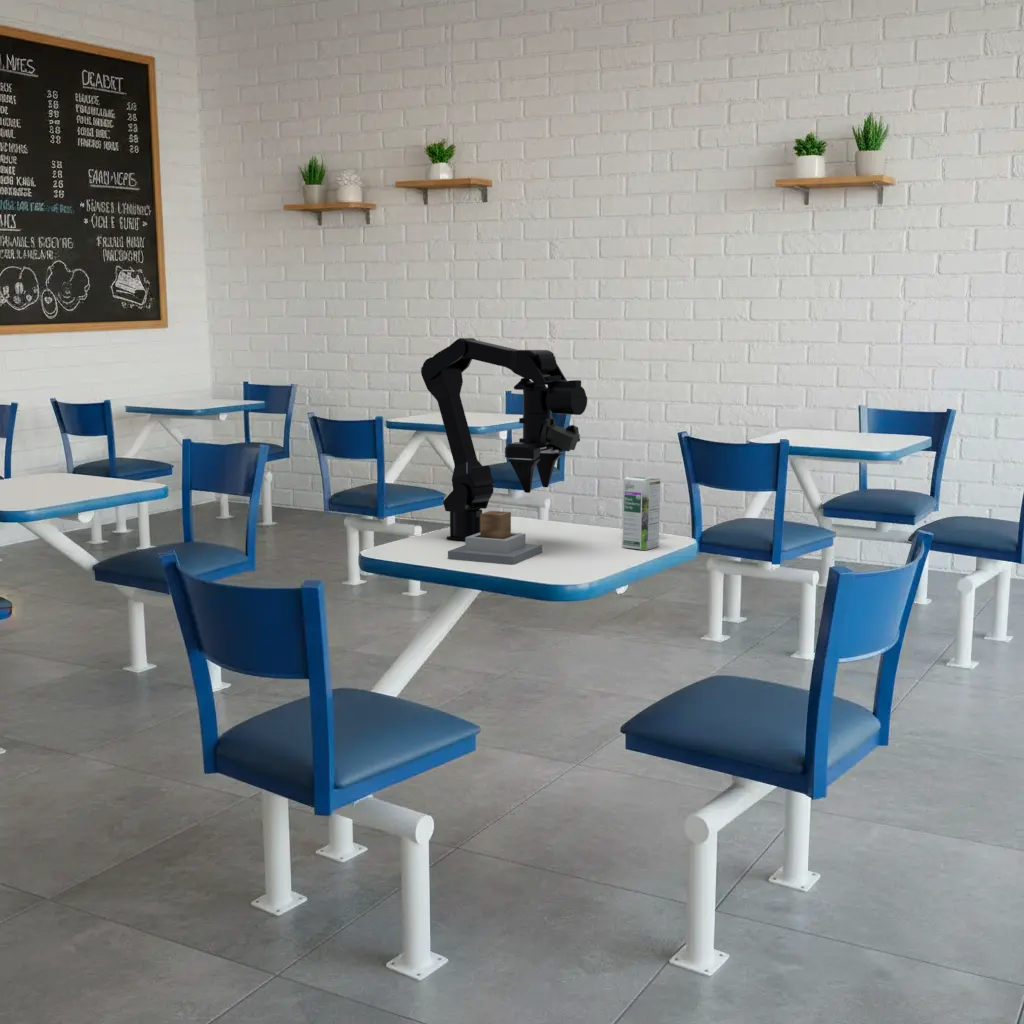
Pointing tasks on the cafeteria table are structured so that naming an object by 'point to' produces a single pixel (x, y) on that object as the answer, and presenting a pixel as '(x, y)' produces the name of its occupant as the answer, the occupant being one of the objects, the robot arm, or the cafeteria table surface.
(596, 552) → the cafeteria table surface
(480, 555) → the socket block
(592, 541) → the cafeteria table surface
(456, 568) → the cafeteria table surface
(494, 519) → the walnut peg
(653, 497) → the syrup box
